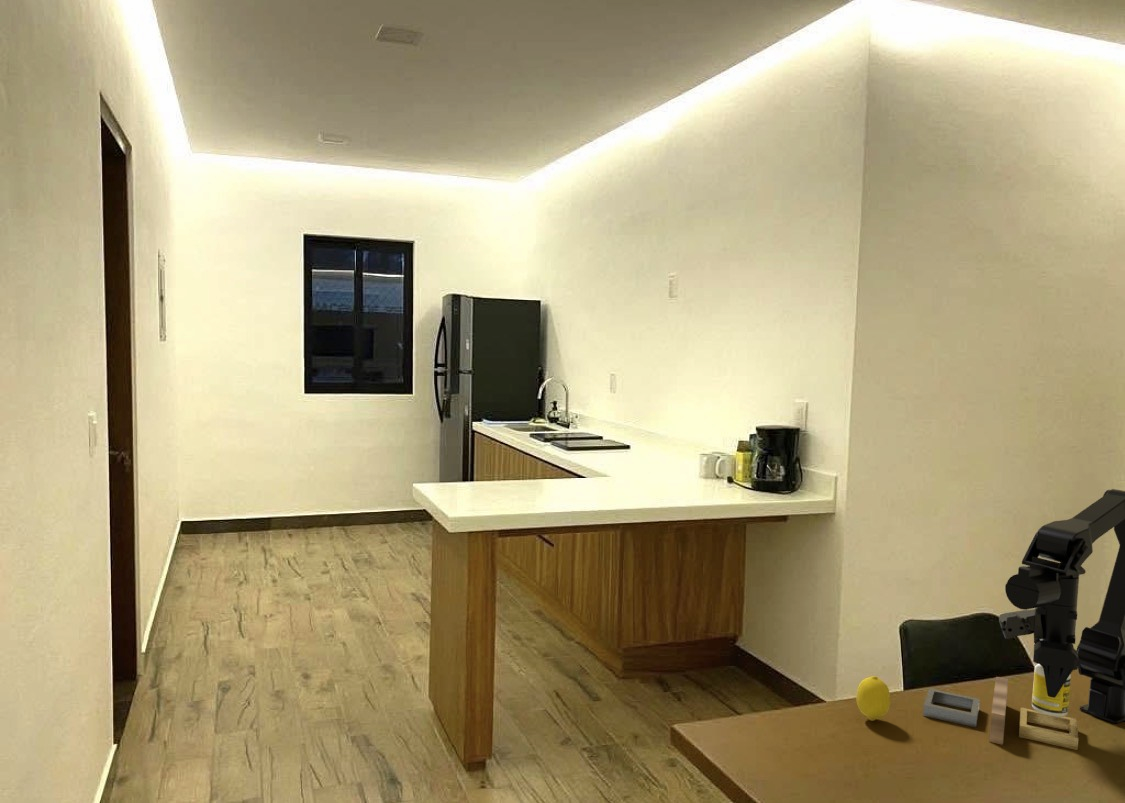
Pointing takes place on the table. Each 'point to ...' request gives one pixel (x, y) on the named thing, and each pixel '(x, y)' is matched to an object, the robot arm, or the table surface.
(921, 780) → the table surface
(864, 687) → the lemon
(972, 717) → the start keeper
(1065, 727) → the frame
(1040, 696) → the supplement bottle
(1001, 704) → the brown wooden bar
